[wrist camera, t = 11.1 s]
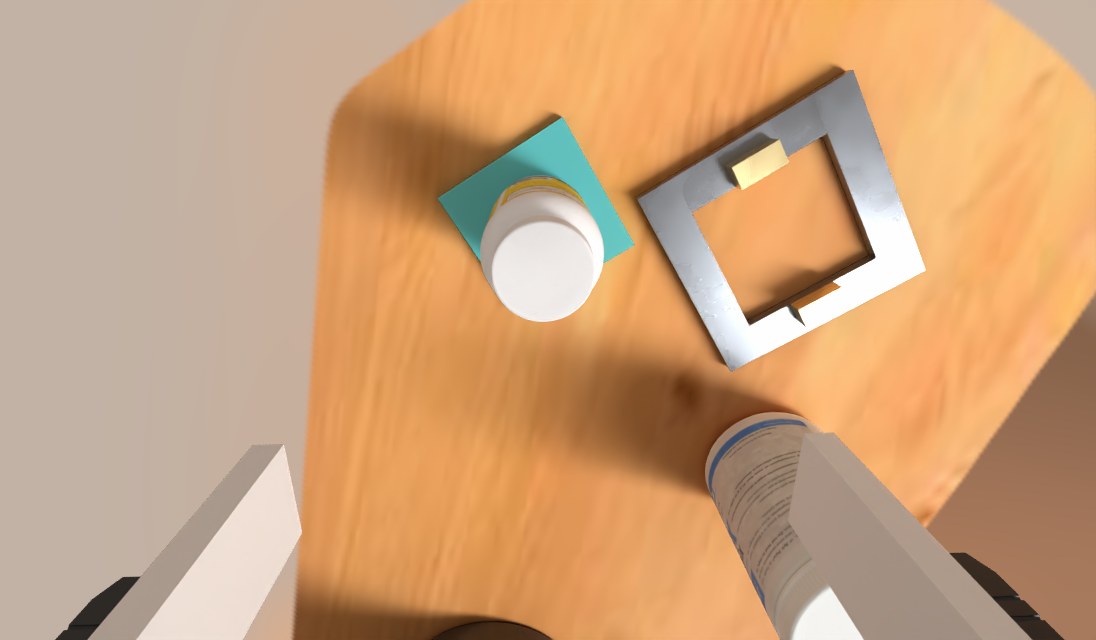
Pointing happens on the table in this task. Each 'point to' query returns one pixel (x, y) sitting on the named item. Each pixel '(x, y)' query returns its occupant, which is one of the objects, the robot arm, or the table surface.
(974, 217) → the table surface
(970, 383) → the table surface
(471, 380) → the table surface
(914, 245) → the socket plate
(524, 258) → the pill bottle
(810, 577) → the supplement tub
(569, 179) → the coaster
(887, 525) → the robot arm
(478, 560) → the table surface
